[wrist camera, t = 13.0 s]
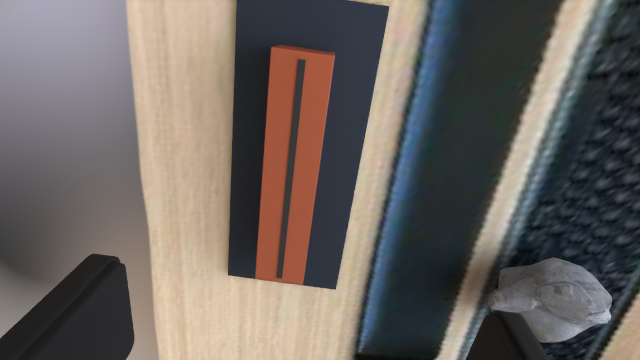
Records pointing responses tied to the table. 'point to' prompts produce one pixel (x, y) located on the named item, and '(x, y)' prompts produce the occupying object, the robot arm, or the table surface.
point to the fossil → (552, 298)
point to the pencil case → (291, 159)
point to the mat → (340, 128)
